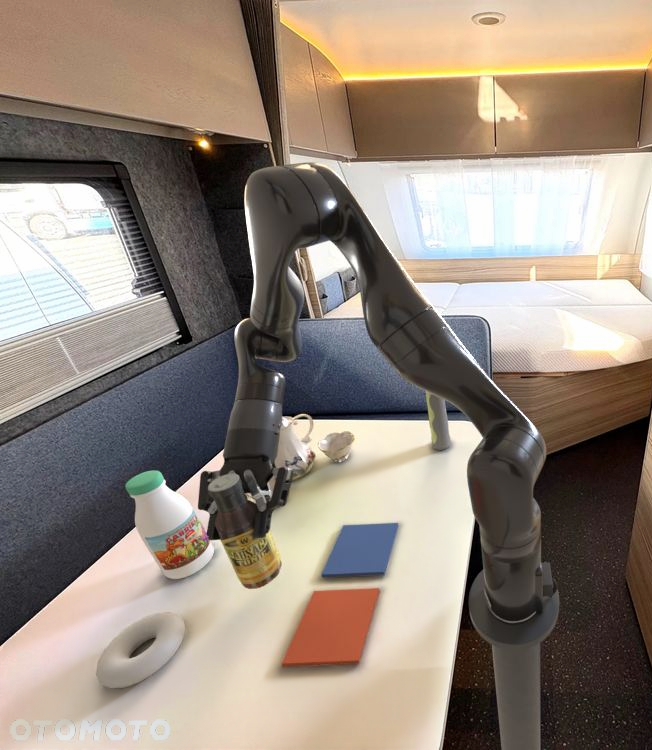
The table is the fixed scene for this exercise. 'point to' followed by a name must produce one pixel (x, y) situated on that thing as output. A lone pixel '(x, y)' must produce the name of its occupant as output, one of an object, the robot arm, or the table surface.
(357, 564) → the slate-blue mat
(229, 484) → the sauce bottle
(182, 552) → the milk bottle
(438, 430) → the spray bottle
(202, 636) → the table surface
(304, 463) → the chinaware
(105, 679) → the donut
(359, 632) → the terracotta mat
